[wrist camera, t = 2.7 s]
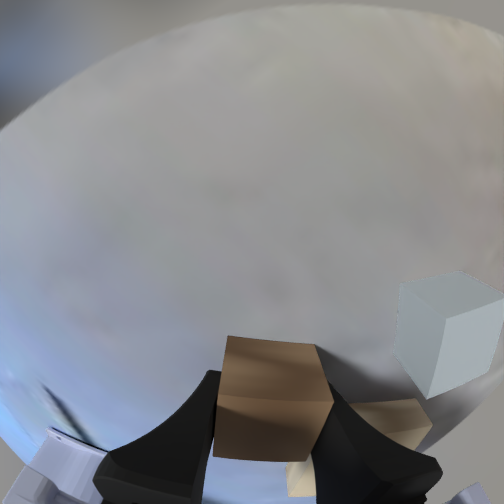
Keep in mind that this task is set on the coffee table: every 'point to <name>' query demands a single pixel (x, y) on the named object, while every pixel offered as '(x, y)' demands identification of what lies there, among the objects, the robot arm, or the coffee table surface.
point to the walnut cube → (270, 401)
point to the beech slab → (381, 418)
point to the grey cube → (447, 330)
